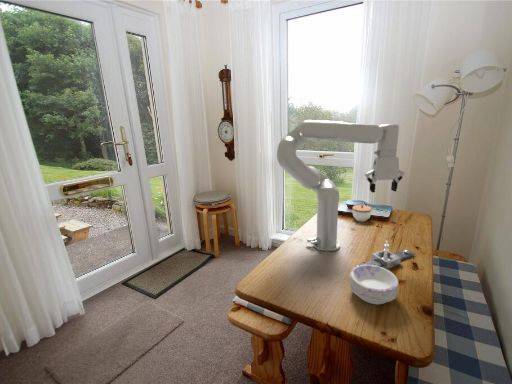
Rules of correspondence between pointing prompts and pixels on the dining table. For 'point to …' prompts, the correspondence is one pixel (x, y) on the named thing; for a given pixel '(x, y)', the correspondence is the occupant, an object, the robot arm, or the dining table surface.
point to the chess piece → (386, 251)
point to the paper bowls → (374, 284)
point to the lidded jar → (361, 212)
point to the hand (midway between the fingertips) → (383, 191)
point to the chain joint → (394, 258)
